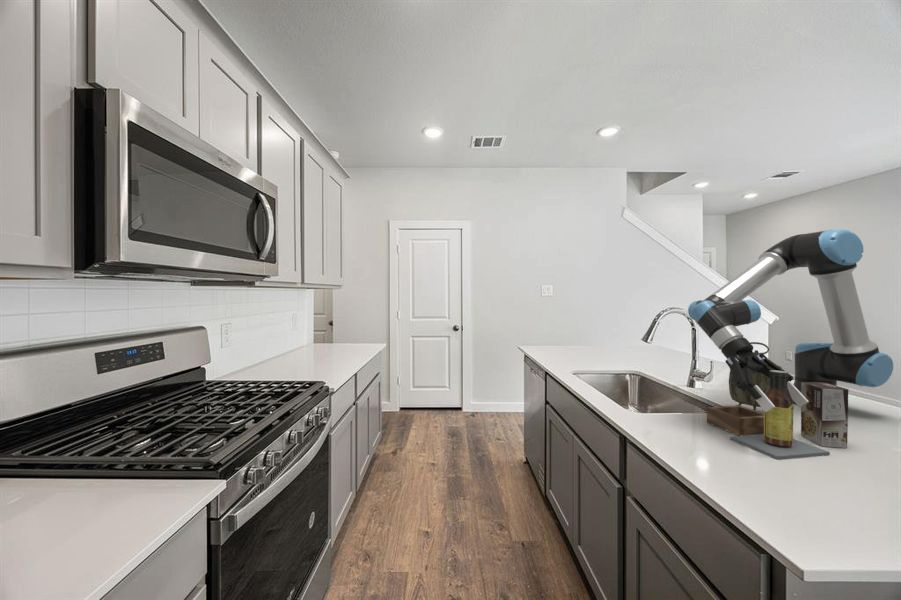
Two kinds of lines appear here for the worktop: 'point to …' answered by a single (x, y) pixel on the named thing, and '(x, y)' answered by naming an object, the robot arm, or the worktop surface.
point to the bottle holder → (736, 419)
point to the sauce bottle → (779, 411)
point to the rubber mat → (779, 447)
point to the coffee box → (825, 414)
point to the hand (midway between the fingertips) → (787, 406)
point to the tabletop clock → (758, 380)
